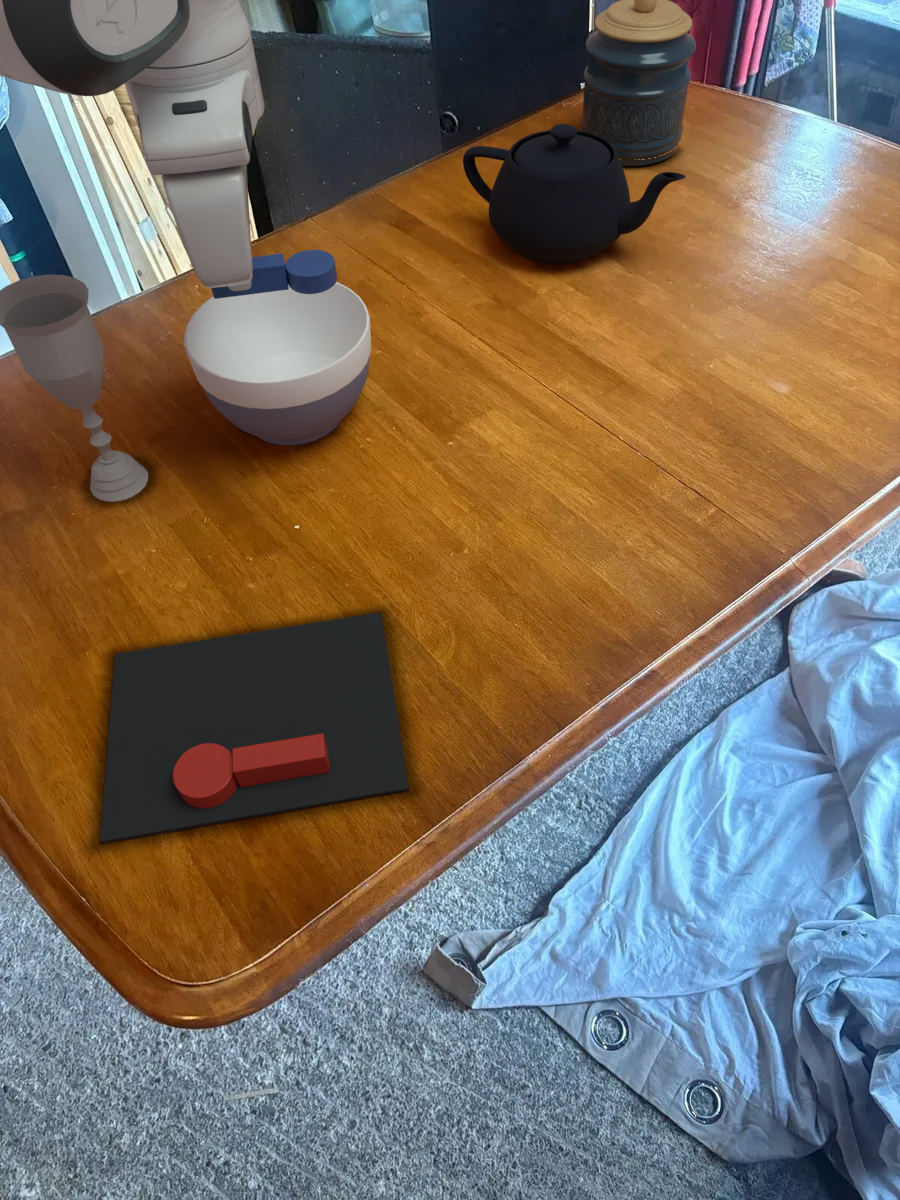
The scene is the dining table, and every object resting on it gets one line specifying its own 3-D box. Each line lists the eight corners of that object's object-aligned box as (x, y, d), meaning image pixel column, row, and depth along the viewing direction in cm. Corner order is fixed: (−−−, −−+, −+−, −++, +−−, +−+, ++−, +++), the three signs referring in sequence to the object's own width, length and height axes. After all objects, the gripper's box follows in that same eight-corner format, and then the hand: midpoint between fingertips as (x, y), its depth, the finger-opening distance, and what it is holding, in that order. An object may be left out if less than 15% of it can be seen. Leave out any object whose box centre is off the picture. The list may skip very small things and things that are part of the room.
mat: (101, 844, 57) (99, 841, 57) (116, 656, 66) (114, 653, 66) (409, 790, 59) (408, 788, 58) (381, 615, 68) (381, 611, 68)
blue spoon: (214, 307, 71) (207, 282, 69) (214, 279, 73) (207, 255, 71) (339, 291, 71) (335, 265, 70) (335, 264, 74) (331, 239, 72)
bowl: (299, 496, 77) (278, 408, 69) (175, 427, 83) (143, 339, 76) (414, 399, 84) (407, 310, 77) (293, 343, 91) (275, 255, 83)
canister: (628, 114, 121) (645, -40, 107) (701, 146, 114) (729, -14, 101) (557, 144, 116) (566, -14, 103) (629, 179, 110) (649, 16, 96)
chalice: (174, 462, 80) (106, 280, 66) (137, 515, 76) (57, 333, 62) (101, 449, 81) (20, 269, 67) (62, 501, 77) (-33, 320, 63)
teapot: (435, 251, 101) (429, 139, 91) (494, 189, 109) (494, 81, 100) (646, 301, 93) (663, 185, 83) (692, 231, 101) (712, 118, 92)
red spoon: (326, 735, 61) (322, 718, 59) (331, 787, 59) (327, 771, 57) (179, 759, 60) (170, 743, 59) (178, 813, 58) (169, 798, 56)
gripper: (154, 37, 67) (201, 215, 77) (140, 162, 54) (199, 355, 65) (238, 28, 67) (274, 206, 78) (245, 150, 54) (286, 343, 65)
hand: (240, 275), depth 71 cm, fingers closed on blue spoon, 2 cm apart
